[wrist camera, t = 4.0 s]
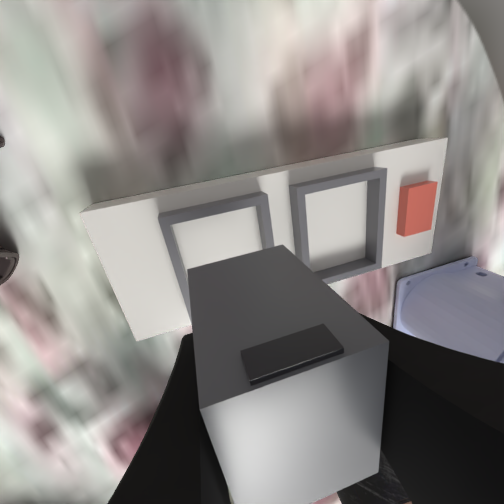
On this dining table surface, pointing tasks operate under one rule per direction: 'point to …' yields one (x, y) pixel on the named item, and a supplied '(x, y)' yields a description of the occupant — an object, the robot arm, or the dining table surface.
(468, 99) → the dining table surface
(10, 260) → the portable electronic device stand
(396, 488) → the travel mug
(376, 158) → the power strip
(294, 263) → the block
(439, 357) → the robot arm
